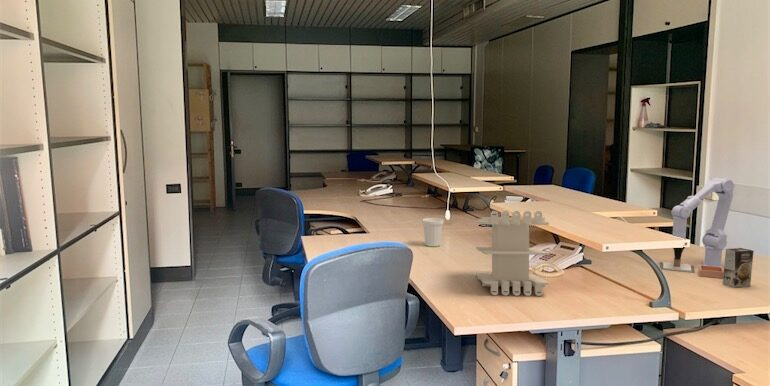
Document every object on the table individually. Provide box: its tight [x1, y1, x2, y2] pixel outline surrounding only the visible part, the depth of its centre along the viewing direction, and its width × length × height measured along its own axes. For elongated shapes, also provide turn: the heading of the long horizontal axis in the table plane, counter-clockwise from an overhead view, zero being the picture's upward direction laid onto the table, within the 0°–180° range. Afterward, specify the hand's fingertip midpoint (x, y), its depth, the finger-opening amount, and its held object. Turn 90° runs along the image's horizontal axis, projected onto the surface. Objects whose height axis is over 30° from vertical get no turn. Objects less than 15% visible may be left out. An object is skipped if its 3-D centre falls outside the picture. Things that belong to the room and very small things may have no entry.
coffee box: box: [722, 247, 755, 289], centre depth 242 cm, size 9×6×16 cm
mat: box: [659, 261, 696, 274], centre depth 271 cm, size 15×15×1 cm
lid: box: [662, 256, 692, 273], centre depth 271 cm, size 12×12×5 cm
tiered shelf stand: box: [475, 210, 550, 297], centre depth 244 cm, size 26×31×35 cm
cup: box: [421, 217, 445, 248], centre depth 320 cm, size 12×12×15 cm
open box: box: [697, 264, 724, 280], centre depth 258 cm, size 10×10×4 cm
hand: (677, 257), depth 271 cm, fingers open, 7 cm apart
